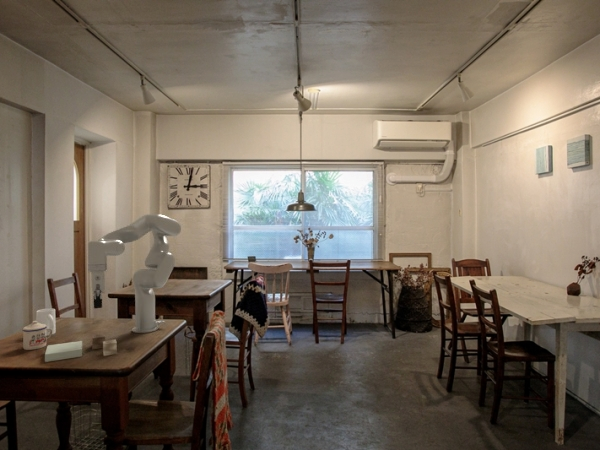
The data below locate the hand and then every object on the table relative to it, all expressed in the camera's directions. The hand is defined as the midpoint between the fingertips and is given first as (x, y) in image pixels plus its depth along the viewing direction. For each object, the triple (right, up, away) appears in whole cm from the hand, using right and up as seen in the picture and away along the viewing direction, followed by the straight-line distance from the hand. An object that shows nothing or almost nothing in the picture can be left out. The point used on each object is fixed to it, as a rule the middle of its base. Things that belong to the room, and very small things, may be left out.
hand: (97, 306), depth 174 cm
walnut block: (0, -19, 0) cm, 19 cm away
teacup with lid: (-28, -19, +2) cm, 34 cm away
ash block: (+10, -19, -8) cm, 22 cm away
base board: (-9, -19, -10) cm, 23 cm away
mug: (-35, -19, +19) cm, 44 cm away
